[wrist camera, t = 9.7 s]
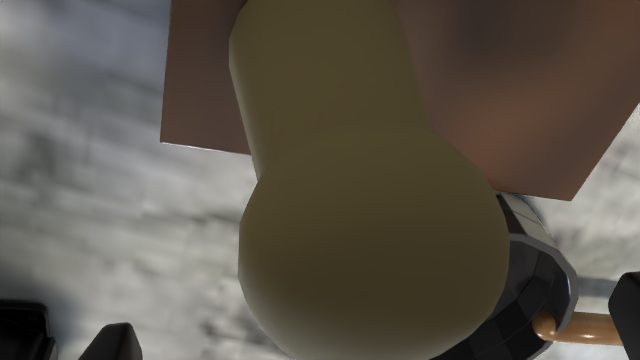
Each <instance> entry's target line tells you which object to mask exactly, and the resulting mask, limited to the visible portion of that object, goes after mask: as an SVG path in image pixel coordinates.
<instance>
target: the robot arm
mask: <svg viewBox="0 0 640 360" xmlns="http://www.w3.org/2000/svg"><path fill="white" fill-rule="evenodd" d="M608 308H609V313H610V315H611V318H612V320H613V322H614V325H615V327H616V329H617V332H618V334H619V336H620V339H621V341H622V344H623V346H624V348H625V351H626V353H627V355H628V358H629V360H640V271H638V272H628V273H625V274H623V275H622V276H621V278H620V279H619V281H618V283H617V285H616V287H615V289H614V291H613V293H612V295H611V297H610V299H609V302H608ZM0 360H57V347H56V341H55V339H54V338H53V337H50V331H49V319H48V310H47V308H46V307H45V306H43V305H41V304H36V303H22V302H6V301H0ZM78 360H143V357H142V350H141V347H140V345H139V342H138V339H137V337H136V334H135V332H134V329H133V327H132V325H131V324H130V323H116V324H108V325H106V326H105V327H103V328H102V329H101V331H100V332H99V333H98V334H97V336H96V337H95V338H94V340H93V341H92V342H91V344H90V345H89V346H88V347H87V349H86V350H85V351H84V353H83V354H82V355H81V356H80V358H79V359H78Z"/></svg>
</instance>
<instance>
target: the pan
mask: <svg viewBox="0 0 640 360" xmlns="http://www.w3.org/2000/svg"><path fill="white" fill-rule="evenodd" d="M494 193H495V195H496V197H497V199H498V202H499V204H500V206H501V209H502V211H503V213H504V215H505V219H506V223H507V228H508V232H509V236H510V249H509V267H508V272H507V277H506V282H505V287H504V290H503V292H502V294H501V296H500V298H499V300H498V302H497V304H496V306H495V308H494V310H493V312H492V313H491V315H490V316H489V317H488V318H487V319H486V320H485V321H484V322H483V323H482V324H481V325H480V326H479V327H478V328H477V329H476V330H475V331H474V332H473V333H472V334H471V335H470V336H468V337H467V338H465V339H464V340H462V341H461V342H459V343H457V344H456V345H454V346H453V347H451V348H450V349H448V350H447V351H445V352H444V353H442V354H440V355H439V356H436V357H434V358H431V359H429V360H533V359H534V358H536V357H537V356H539V355H540V354H541V353H543V352H544V351H545V350H547V349H548V348H549V347H550V345H551V344H552V343H553V342H554V341H549V340H543V339H541V338H540V337H538V336H537V335H536V333H535V332H534V330H533V327H532V320H533V317H534V316H535V314H536V313H538V312H539V311H541V310H548V311H549V312H550V313H551V314H552V315H553V317H554V319H555V324H556V330H555V332H562V331H563V330H564V329H565V328H566V326H567V325H568V324H569V321H570V319H571V316H572V314H573V311H574V309H575V306H576V303H577V301H578V288H577V278H576V272H575V270H574V268H573V267H572V266H571V264H570V263H569V261H568V260H567V258H566V257H565V255H564V254H563V253H562V251H561V250H560V248H559V247H558V245H557V244H556V242H555V241H554V239H553V238H552V237H551V235H550V234H549V232H548V231H547V229H546V228H545V226H544V225H543V224H542V222H541V221H540V220H539V218H538V217H537V216H536V214H535V213H534V212H533V211H532V209H531V208H530V207H529V205H528V204H527V203H525V202H524V201H522V200H521V199H520V198H519V197H517V196H516V195H514V194H512V193H508V192H501V191H494Z"/></svg>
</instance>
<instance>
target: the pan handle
mask: <svg viewBox="0 0 640 360" xmlns="http://www.w3.org/2000/svg"><path fill="white" fill-rule="evenodd" d="M532 327H533V330H534V332H535V333H536V335H537V336H538V337H540V338H541V339H543V340H549V341H554V342H569V343H585V344H601V345H617V346H623V344H622V341H621V339H620V336H619V334H618V332H617V329H616V327H615V325H614V322H613V320H612V318H611V315H610V314H598V313H586V312H573V314H572V316H571V319H570V321H569V324H568V325H567V326H566V328H565V329H564V330H563V331H562V332H555V330H556V324H555V319H554V317H553V315H552V314H551V313H550V312H549V311H548V310H541V311H539V312H538V313H536V314H535V316H534V317H533V320H532Z"/></svg>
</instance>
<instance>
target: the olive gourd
mask: <svg viewBox="0 0 640 360" xmlns="http://www.w3.org/2000/svg"><path fill="white" fill-rule="evenodd" d="M229 68H230V72H231V76H232V80H233V84H234V88H235V92H236V96H237V100H238V104H239V108H240V112H241V116H242V120H243V124H244V128H245V132H246V136H247V140H248V144H249V148H250V152H251V156H252V160H253V164H254V168H255V172H256V176H257V180H258V183H257V185H256V187H255V189H254V191H253V193H252V196H251V198H250V200H249V202H248V204H247V207H246V209H245V211H244V214H243V216H242V219H241V221H240V230H239V258H238V278H239V281H240V284H241V287H242V291H243V294H244V297H245V299H246V302H247V304H248V306H249V308H250V310H251V313H252V315H253V317H254V319H255V321H256V323H257V325H258V326H259V327H260V328H261V329H262V330H263V332H264V333H265V334H266V335H267V336H268V337H269V338H270V340H271V341H273V342H274V343H275V344H276V345H277V346H278V347H279V348H280V349H282V350H283V351H284V352H285V353H286V354H287V355H288V356H289V357H291V358H293V359H296V360H429V359H431V358H434V357H436V356H439V355H440V354H442V353H444V352H445V351H447V350H448V349H450V348H451V347H453V346H454V345H456V344H457V343H459V342H461V341H462V340H464V339H465V338H467V337H468V336H470V335H471V334H472V333H473V332H474V331H475V330H476V329H477V328H478V327H479V326H480V325H481V324H482V323H483V322H484V321H485V320H486V319H487V318H488V317H489V316H490V315H491V313H492V312H493V310H494V308H495V306H496V304H497V302H498V300H499V298H500V296H501V294H502V292H503V290H504V287H505V282H506V277H507V272H508V267H509V249H510V236H509V232H508V228H507V223H506V219H505V215H504V213H503V211H502V209H501V206H500V204H499V202H498V199H497V197H496V195H495V193H494V190H493V188H492V186H491V185H490V183H489V182H488V180H487V179H486V177H485V176H484V174H483V173H482V171H481V170H480V168H478V167H477V166H476V165H475V164H474V163H473V162H471V161H470V160H469V159H468V158H467V157H466V156H465V155H463V154H462V153H461V152H460V151H459V150H458V149H457V148H455V147H454V146H453V145H452V144H450V143H449V142H448V141H446V140H445V139H444V138H442V137H441V136H439V135H438V134H435V133H434V131H433V128H432V124H431V121H430V118H429V114H428V111H427V107H426V104H425V101H424V97H423V94H422V91H421V87H420V84H419V81H418V77H417V74H416V71H415V67H414V64H413V60H412V57H411V54H410V50H409V47H408V44H407V40H406V37H405V34H404V30H403V27H402V24H401V22H400V20H399V18H398V15H397V13H396V11H395V9H394V7H393V5H392V2H391V0H248V1H247V2H246V4H245V5H244V6H243V7H242V8H241V10H240V11H239V13H238V15H237V18H236V21H235V24H234V26H233V29H232V32H231V35H230V37H229Z"/></svg>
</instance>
